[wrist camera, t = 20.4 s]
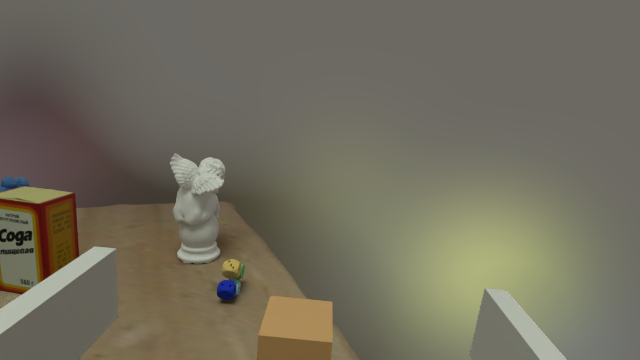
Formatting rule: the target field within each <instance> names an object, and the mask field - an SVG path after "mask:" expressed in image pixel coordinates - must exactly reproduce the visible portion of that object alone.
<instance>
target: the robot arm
mask: <svg viewBox="0 0 640 360" xmlns="http://www.w3.org/2000/svg"><path fill="white" fill-rule="evenodd" d="M117 318H118V293H117V264H116V249H113V248H104V247H93V248H92V249H90V250H89V251H87V252H86V253H84V254H83V255H81V256H80V257H78V258H76V259H75V260H73V261H72V262H70V263H69V264H67V265H66V266H64V267H63V268H61V269H60V270H58V271H57V272H55V273H54V274H52V275H51V276H49V277H48V278H46V279H45V280H43V281H42V282H40V283H39V284H37V285H36V286H34V287H33V288H31V289H30V290H28V291H27V292H25V293H24V294H22V295H21V296H19V297H18V298H16V299H15V300H13V301H12V302H10V303H9V304H7V305H6V306H4V307H2V308H1V309H0V360H78V359H79V358H80V357H81V356H82V355H83V354H84V353H85V352H86V351H87V350H88V349H89V348H90V347H91V346H92V345H93V343H94V342H95V341H96V340H97V339H98V338H99V337H100V336H101V335H102V334H103V333H104V332H105V331H106V330H107V329H108V327H109V326H110V325H111V324H112V323H113V322H114V321H115V320H116V319H117ZM469 355H470V357H471V359H472V360H566V358H565V357H564V356H563V355H562V354H561V353H560V351H559V350H558V349H557V348H556V347H555V346H554V345H553V343H552V342H551V341H550V340H549V339H548V338H547V337H546V335H545V334H544V333H543V332H542V331H541V330H540V329H539V327H538V326H537V325H536V324H535V323H534V322H533V320H531V318H530V317H529V316H528V315H527V314H526V312H525V311H524V310H523V309H522V308H521V307H520V306H519V305H518V303H517V302H516V301H515V300H514V299H513V298H512V296H511V295H510V294H509V293H508V292H507V291H506V290H496V289H487V288H486V289H485V290H484V294H483V298H482V303H481V307H480V311H479V315H478V320H477V324H476V328H475V333H474V337H473V342H472V346H471V350H470V354H469Z"/></svg>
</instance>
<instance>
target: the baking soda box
mask: <svg viewBox="0 0 640 360" xmlns="http://www.w3.org/2000/svg"><path fill="white" fill-rule="evenodd" d="M75 202H76V201H75V193H71V192H64V191H58V190H50V189H41V188H34V187H26V186H22V187H18V188H14V189H10V190H6V191H3V192H0V290H1V291H6V292H12V293H18V294H24V293H25V292H27V291H28V290H30V289H31V288H33V287H34V286H36V285H37V284H39V283H40V282H42V281H43V280H45V279H46V278H48V277H49V276H51V275H52V274H54V273H55V272H57V271H58V270H60V269H61V268H63V267H64V266H66V265H67V264H69V263H70V262H72V261H73V260H75V259H76V258H78V257H79V248H78V232H77V217H76V203H75Z"/></svg>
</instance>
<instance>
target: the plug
mask: <svg viewBox="0 0 640 360" xmlns="http://www.w3.org/2000/svg"><path fill="white" fill-rule="evenodd" d="M331 350H332V302H329V301H319V300H309V299H299V298H288V297H278V296H270V299H269V302H268V305H267V309H266V312H265V315H264V319H263V322H262V325H261V328H260V332H259V335H258V351H257V360H330V359H331Z"/></svg>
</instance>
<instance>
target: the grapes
mask: <svg viewBox="0 0 640 360" xmlns="http://www.w3.org/2000/svg"><path fill="white" fill-rule="evenodd" d="M22 186H26V187H32V186H29V183H28V181H27V180H26V179H25V178H22V177H20V178H16V179H14V178H12V177H5V178H3V179H2V181H1V186H0V192H3V191H6V190H10V189H14V188H18V187H22Z"/></svg>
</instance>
